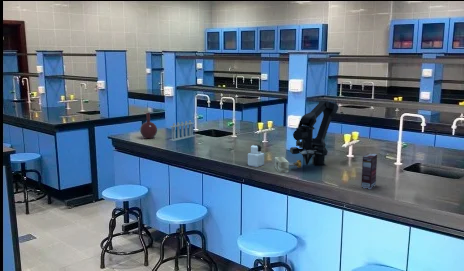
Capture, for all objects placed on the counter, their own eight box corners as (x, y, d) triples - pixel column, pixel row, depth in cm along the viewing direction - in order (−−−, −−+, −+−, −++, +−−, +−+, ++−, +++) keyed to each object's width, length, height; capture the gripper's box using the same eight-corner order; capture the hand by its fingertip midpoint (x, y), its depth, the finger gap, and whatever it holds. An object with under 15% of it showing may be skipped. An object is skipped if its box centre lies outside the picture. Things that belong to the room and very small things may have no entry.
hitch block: (282, 166, 242) (282, 156, 241) (288, 172, 231) (288, 162, 230) (274, 167, 242) (274, 157, 241) (279, 172, 230) (280, 162, 229)
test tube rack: (173, 141, 319) (172, 124, 316) (169, 140, 321) (168, 123, 319) (195, 136, 338) (195, 120, 336) (191, 135, 341) (191, 119, 338)
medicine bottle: (254, 162, 252) (254, 143, 250) (264, 164, 248) (264, 145, 245) (247, 165, 247) (247, 145, 244) (257, 167, 242) (257, 147, 240)
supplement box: (366, 183, 210) (368, 152, 207) (375, 185, 208) (377, 154, 205) (360, 187, 203) (362, 156, 200) (370, 189, 201) (372, 157, 198)
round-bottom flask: (151, 136, 339) (150, 111, 335) (160, 138, 329) (159, 113, 325) (137, 138, 330) (136, 113, 326) (146, 140, 320) (145, 114, 317)
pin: (298, 166, 240) (299, 159, 239) (301, 168, 236) (301, 161, 235) (279, 167, 238) (279, 160, 237) (281, 169, 234) (281, 161, 233)
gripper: (318, 134, 244) (317, 160, 247) (287, 135, 242) (286, 162, 244) (325, 138, 234) (324, 165, 236) (293, 139, 231) (292, 166, 234)
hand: (306, 164), depth 238 cm, fingers closed
